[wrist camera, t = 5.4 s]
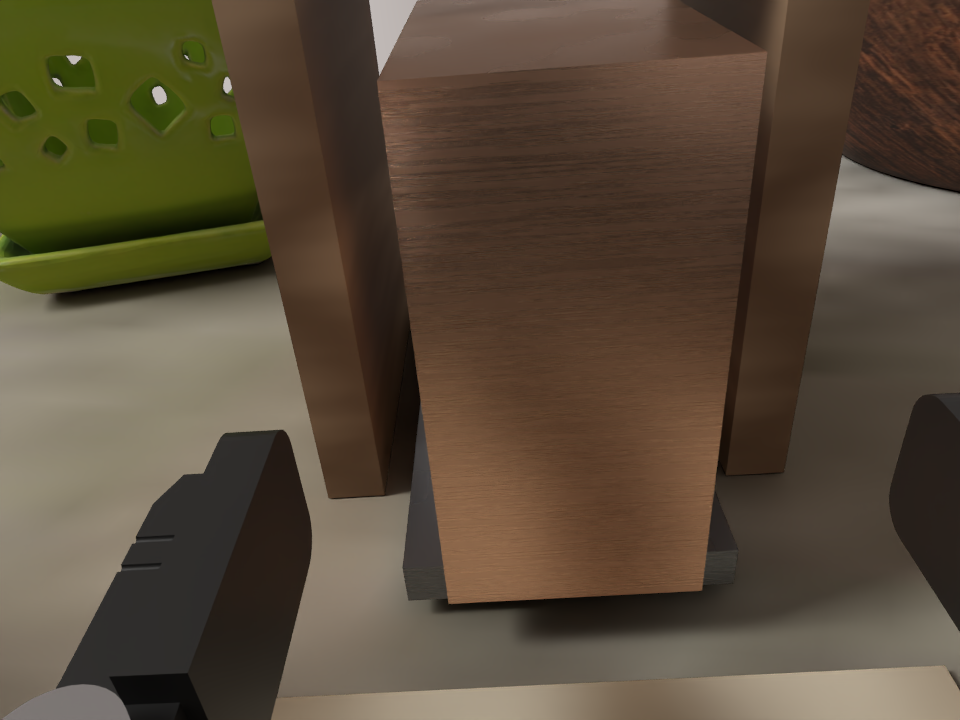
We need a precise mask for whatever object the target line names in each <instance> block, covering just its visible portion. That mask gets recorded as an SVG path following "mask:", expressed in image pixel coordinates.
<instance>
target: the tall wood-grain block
mask: <svg viewBox="0 0 960 720" xmlns="http://www.w3.org/2000/svg"><path fill="white" fill-rule="evenodd" d="M766 60H767V51H765V50H764V49H762V48H760V47H759V46H757V45H755V44H753V43H752V42H750V41H748V40H746V39H745V38H743V37H741V36H739V35H738V34H736V33H734V32H732V31H731V30H729V29H727V28H726V27H724V26H722V25H720V24H719V23H717V22H715V21H713V20H712V19H710V18H708V17H706V16H705V15H703V14H701V13H699V12H698V11H696V10H694V9H693V8H691V7H689V6H687V5H686V4H684V3H682V2H680V1H679V0H420V1H417V2H416V4H415V6H414V8H413V10H412V12H411V14H410V16H409V18H408V20H407V22H406V24H405V26H404V28H403V30H402V32H401V34H400V36H399V38H398V40H397V42H396V44H395V46H394V48H393V50H392V52H391V54H390V56H389V58H388V60H387V62H386V64H385V66H384V68H383V70H382V72H381V74H380V76H379V78H378V80H377V86H378V94H379V101H380V108H381V115H382V123H383V130H384V137H385V145H386V152H387V159H388V166H389V174H390V181H391V188H392V195H393V203H394V210H395V217H396V225H397V232H398V239H399V246H400V254H401V261H402V268H403V275H404V283H405V290H406V297H407V304H408V312H409V319H410V326H411V334H412V341H413V348H414V355H415V363H416V370H417V377H418V384H419V392H420V399H421V402H420V411H419V420H418V430H417V439H416V449H415V458H414V467H413V477H412V486H411V496H410V505H409V514H408V524H407V533H406V543H405V552H404V561H403V572H404V578H405V583H406V589H407V595H408V600H427V599H446V598H448V603H449V604H456V603H476V602H495V601H514V600H533V599H552V598H571V597H590V596H609V595H628V594H648V593H667V592H686V591H702V586H703V585H712V584H731V583H733V582H734V576H735V569H736V562H737V556H738V548H737V545H736V543H735V540H734V538H733V535H732V533H731V530H730V528H729V525H728V523H727V520H726V517H725V515H724V512H723V510H722V507H721V505H720V502H719V500H718V497H717V495H716V492H715V490H714V488H715V479H716V471H717V463H718V455H719V446H720V438H721V430H722V422H723V414H724V405H725V397H726V389H727V381H728V373H729V364H730V356H731V348H732V340H733V332H734V323H735V315H736V307H737V299H738V290H739V282H740V274H741V266H742V258H743V249H744V241H745V233H746V225H747V216H748V208H749V200H750V192H751V184H752V175H753V167H754V159H755V151H756V143H757V134H758V126H759V118H760V110H761V102H762V93H763V85H764V77H765V69H766Z"/></svg>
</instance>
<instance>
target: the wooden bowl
mask: <svg viewBox="0 0 960 720" xmlns="http://www.w3.org/2000/svg"><path fill="white" fill-rule="evenodd" d="M842 154H843V155H844V156H846V157H848V158H850V159H852V160H853V161H856V162H858V163H860V164H862V165H865V166H867V167H870V168H872V169H875V170H878V171H880V172H883V173H887V174H890V175H893V176H896V177H900V178H903V179H907V180H911V181H914V182H919V183H923V184H927V185H932V186H936V187H941V188H946V189H951V190H956V191H960V0H870V4H869V10H868V15H867V21H866V26H865V31H864V37H863V42H862V48H861V53H860V59H859V64H858V70H857V75H856V81H855V86H854V92H853V97H852V102H851V108H850V113H849V119H848V124H847V130H846V135H845V141H844V146H843V152H842Z"/></svg>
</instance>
